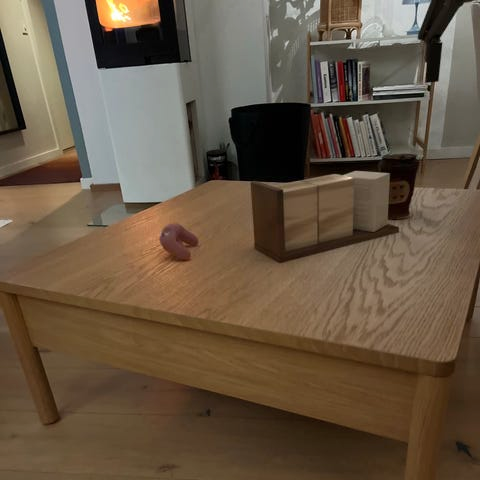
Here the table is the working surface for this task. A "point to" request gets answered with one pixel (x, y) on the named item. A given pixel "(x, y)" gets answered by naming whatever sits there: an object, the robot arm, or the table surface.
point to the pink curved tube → (177, 240)
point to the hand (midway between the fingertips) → (461, 81)
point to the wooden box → (306, 217)
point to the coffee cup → (400, 182)
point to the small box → (370, 200)
